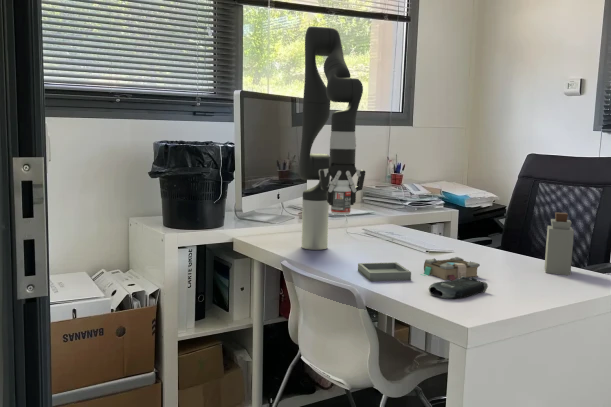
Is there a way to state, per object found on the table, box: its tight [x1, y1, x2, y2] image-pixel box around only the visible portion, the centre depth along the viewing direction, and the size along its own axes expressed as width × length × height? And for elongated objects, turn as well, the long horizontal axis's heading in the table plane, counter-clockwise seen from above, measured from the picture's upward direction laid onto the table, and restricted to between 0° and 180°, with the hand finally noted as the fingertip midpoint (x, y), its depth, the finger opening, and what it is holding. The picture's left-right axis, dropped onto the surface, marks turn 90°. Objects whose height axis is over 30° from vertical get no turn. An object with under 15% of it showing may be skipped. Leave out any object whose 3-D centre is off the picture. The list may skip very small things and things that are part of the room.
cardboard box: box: [420, 256, 481, 281], centre depth 167 cm, size 20×12×5 cm, turn 115°
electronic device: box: [428, 276, 489, 300], centre depth 149 cm, size 9×6×15 cm
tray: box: [357, 261, 412, 282], centre depth 166 cm, size 12×12×2 cm
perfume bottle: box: [544, 211, 575, 276], centre depth 174 cm, size 7×7×18 cm
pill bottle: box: [330, 180, 352, 215], centre depth 169 cm, size 6×6×10 cm
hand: (340, 204), depth 169 cm, fingers closed on pill bottle, 5 cm apart
